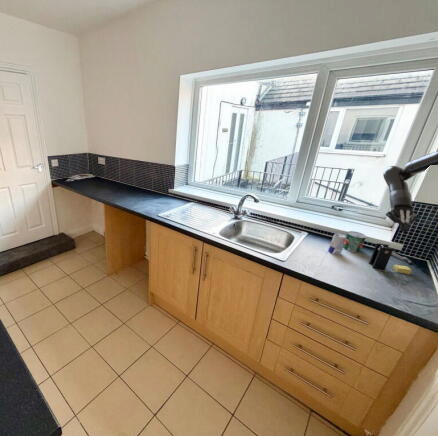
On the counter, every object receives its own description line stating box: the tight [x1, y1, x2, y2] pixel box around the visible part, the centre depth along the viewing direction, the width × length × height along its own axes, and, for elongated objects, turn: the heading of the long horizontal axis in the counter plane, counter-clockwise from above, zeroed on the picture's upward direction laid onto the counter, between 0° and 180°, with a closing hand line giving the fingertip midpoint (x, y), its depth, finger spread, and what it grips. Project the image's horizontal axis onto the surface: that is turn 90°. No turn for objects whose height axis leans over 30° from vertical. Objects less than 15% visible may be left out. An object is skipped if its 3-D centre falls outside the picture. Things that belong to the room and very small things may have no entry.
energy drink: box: [327, 232, 347, 256], centre depth 129 cm, size 5×5×12 cm
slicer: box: [368, 242, 394, 274], centre depth 116 cm, size 10×8×13 cm
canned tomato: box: [342, 230, 367, 253], centre depth 133 cm, size 8×8×11 cm
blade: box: [378, 245, 415, 266], centre depth 114 cm, size 13×5×2 cm, turn 69°
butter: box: [392, 264, 413, 275], centre depth 115 cm, size 5×4×3 cm
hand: (405, 230), depth 118 cm, fingers closed
